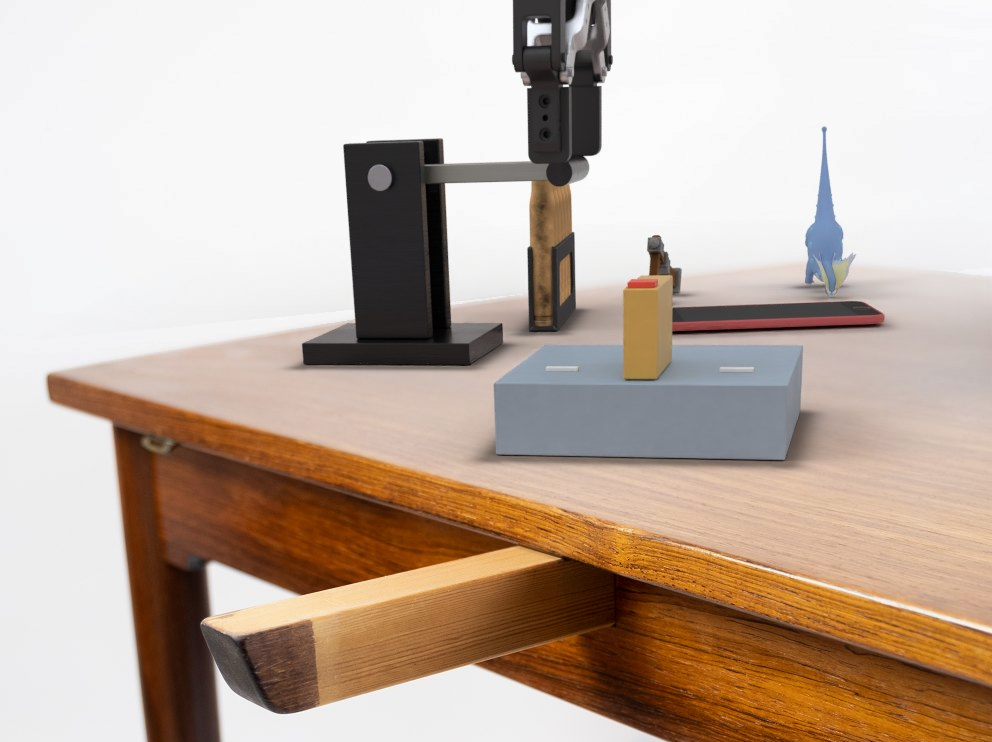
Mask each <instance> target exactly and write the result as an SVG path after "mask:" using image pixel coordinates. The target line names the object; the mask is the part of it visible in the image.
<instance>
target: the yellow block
mask: <svg viewBox="0 0 992 742" xmlns="http://www.w3.org/2000/svg"><path fill="white" fill-rule="evenodd" d="M622 291H623V292H622V302H623V303H622V316H623V317H622V336H623V337H622V341H623V343H622V345H623V378H624V379H652V380H656V379H657V378H658V377H659V376H660V374H661V373H662V372H663V371H664V369H665V368H666V367H667V366H668V364H669V363H670V362H671V360H672V345H673V331H672V307H673V304H674V303H673V301H674V300H673V299H674V298H673V294H674V293H673V276H671V275H653V276H649V275H640V276H639V277H637V278H631V279H630V280H629V281H627V286H625V288H624V289H623V290H622Z"/></svg>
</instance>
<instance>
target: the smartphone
mask: <svg viewBox="0 0 992 742" xmlns="http://www.w3.org/2000/svg"><path fill="white" fill-rule="evenodd" d="M884 321H885V313H884V312H882V311H880V310H878V309H877V308H876V307H874V306H872V305H870V304H869V303H866V302H865V301H859V300H840V301H839V300H838V301H812V302H811V301H810V302H787V303H786V302H781V303H759V304H757V303H756V304H731V305H730V304H728V305H703V306H702V305H700V306H676V307H675V306H674V307H673V306H672V332H685V331H686V332H687V331H691V332H692V331H714V330H716V331H717V330H718V331H719V330H740V329H743V330H745V329H746V330H747V329H772V328H774V329H775V328H800V327H823V326H824V327H826V326H829V327H830V326H852V325H853V326H854V325H855V326H857V325H875V324H876V325H877V324H882V323H884Z"/></svg>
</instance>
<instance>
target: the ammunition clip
mask: <svg viewBox="0 0 992 742" xmlns="http://www.w3.org/2000/svg"><path fill="white" fill-rule="evenodd" d="M570 185H571V184H568V185H565V186H561V187H557V186H554V185H552V184H551V183H550V182H549V181H531V185H530V186H531V187H530V188H531V189H530V191H531V192H530V197H529V204H528V205H529V208H528V209H529V211H528V212H529V213H528V214H529V246H528V247H527V248H526V251H527V252H526V253H527V257H526V258H527V291H528V292H527V301H528V303H527V304H528V306H527V307H528V332H556V331H559V330H560V329H561V327H562V326H563V325H564V324H565V322H566V321H567V320H568V319H569V318H570V316H571V315H572V314H573V313H574V311H575V310H576V309H577V301H576V299H577V298H576V297H577V296H576V291H577V290H576V241H575V240H576V239H575V237H576V236H575V235H576V234H575V232H574V231H573V215H572V214H573V213H572V212H573V210H572V208H573V207H572V190H571V186H570Z"/></svg>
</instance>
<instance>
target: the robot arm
mask: <svg viewBox="0 0 992 742" xmlns="http://www.w3.org/2000/svg"><path fill="white" fill-rule="evenodd" d="M536 20H537V22H536ZM613 63H614V57H613V55H612V0H512V56H511V64H512V66H513V70H514V72H515V73H520V79H522V81H521V82H522V85H523V86H524V87H527V88H526V108H527V110H526V111H527V113H526V114H527V155H528V159H529V161H531V162H533V163H535V164H560V163H565V162H567V161H568V160H569V159H570V158H571V155H574V154H580V155H582V156H584V157H593V156H594V157H595V156H597V155H598V154H599V153H600V152H601V151H602V147H603V145H602V144H603V140H602V136H603V134H602V129H603V128H602V127H603V125H602V124H603V123H602V121H603V119H602V118H603V116H602V115H603V114H602V113H603V112H602V111H603V109H602V108H603V107H602V106H603V104H602V102H603V100H602V99H603V97H602V95H603V93H602V92H603V90H602V89H603V88H602V85H598V84H605V82H606V77H607V76H608V72H611V69H612V65H613Z"/></svg>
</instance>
